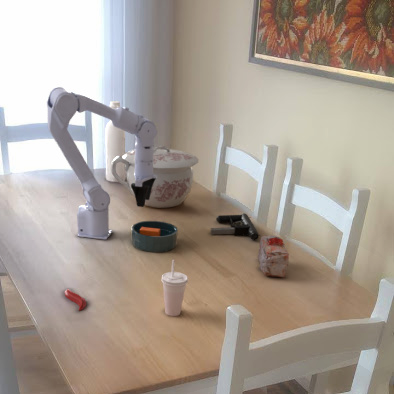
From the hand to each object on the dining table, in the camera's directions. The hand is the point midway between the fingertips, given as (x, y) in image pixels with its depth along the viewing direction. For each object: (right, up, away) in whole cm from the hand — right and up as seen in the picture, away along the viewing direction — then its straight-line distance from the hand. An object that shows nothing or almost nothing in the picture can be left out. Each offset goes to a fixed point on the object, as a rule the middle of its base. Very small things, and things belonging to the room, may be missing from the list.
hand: (143, 202), depth 184 cm
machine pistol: (+29, -7, +11) cm, 32 cm away
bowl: (+4, -14, -4) cm, 15 cm away
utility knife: (+4, -13, -4) cm, 15 cm away
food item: (+39, -24, -15) cm, 48 cm away
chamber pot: (+3, +8, +31) cm, 32 cm away
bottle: (-16, +23, +53) cm, 60 cm away
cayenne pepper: (-13, -35, -39) cm, 54 cm away
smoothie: (+11, -38, -41) cm, 57 cm away
